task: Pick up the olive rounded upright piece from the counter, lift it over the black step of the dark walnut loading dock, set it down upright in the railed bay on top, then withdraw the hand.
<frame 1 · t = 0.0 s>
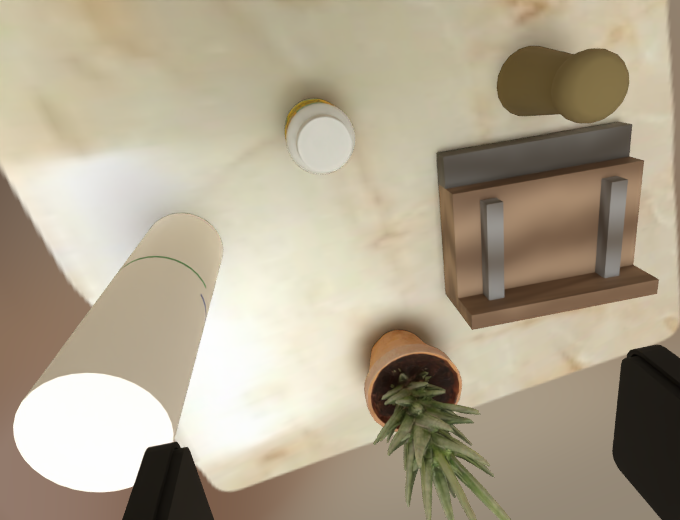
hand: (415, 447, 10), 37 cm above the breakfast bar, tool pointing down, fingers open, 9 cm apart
loading dock: (527, 225, 50), on the breakfast bar
supplement bottle: (314, 128, 44), on the breakfast bar
potted plant: (395, 350, 54), on the breakfast bar
cylindrical container: (184, 248, 46), on the breakfast bar
olive rounded upright piece: (527, 81, 44), on the breakfast bar
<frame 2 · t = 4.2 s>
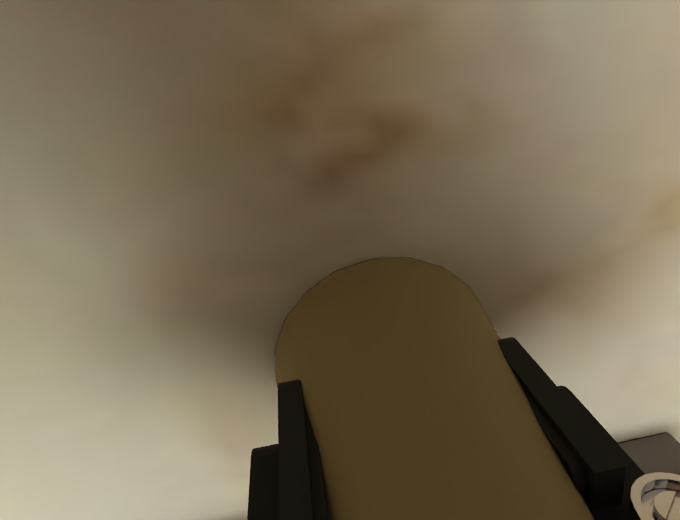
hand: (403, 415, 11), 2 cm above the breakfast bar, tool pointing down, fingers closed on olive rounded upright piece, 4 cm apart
olive rounded upright piece: (383, 354, 14), on the breakfast bar, touching gripper
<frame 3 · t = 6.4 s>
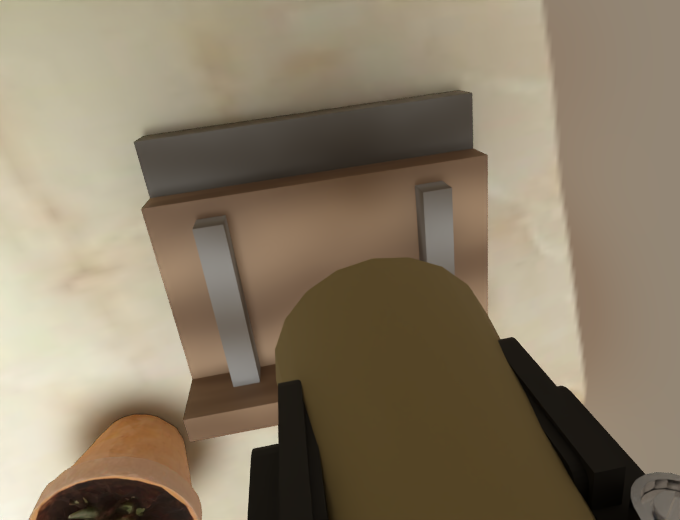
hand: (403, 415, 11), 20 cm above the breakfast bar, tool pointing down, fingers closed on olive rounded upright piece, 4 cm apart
loading dock: (326, 257, 31), on the breakfast bar
potted plant: (142, 443, 35), on the breakfast bar
olive rounded upright piece: (383, 354, 14), point 17 cm above the breakfast bar, touching gripper
when the fingers open (8 cm above the breakfast bar, at t = 9.1 s): olive rounded upright piece drops 1 cm, resting on loading dock.
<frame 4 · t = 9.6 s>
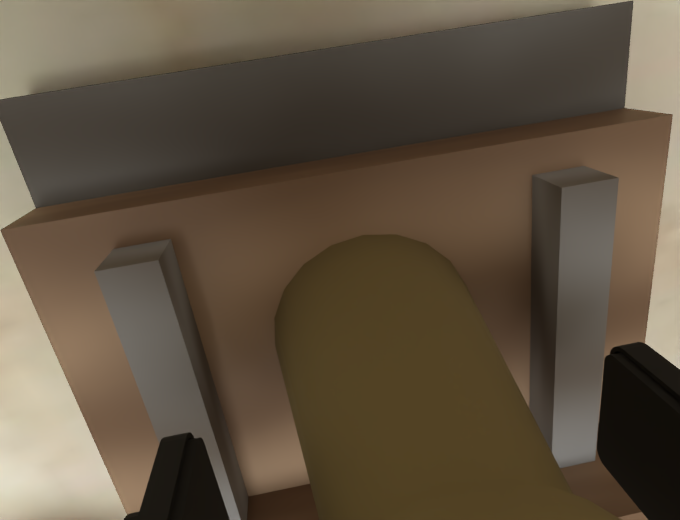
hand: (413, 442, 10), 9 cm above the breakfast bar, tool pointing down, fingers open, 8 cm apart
loading dock: (356, 300, 19), on the breakfast bar
olive rounded upright piece: (373, 324, 15), point 4 cm above the breakfast bar, touching loading dock
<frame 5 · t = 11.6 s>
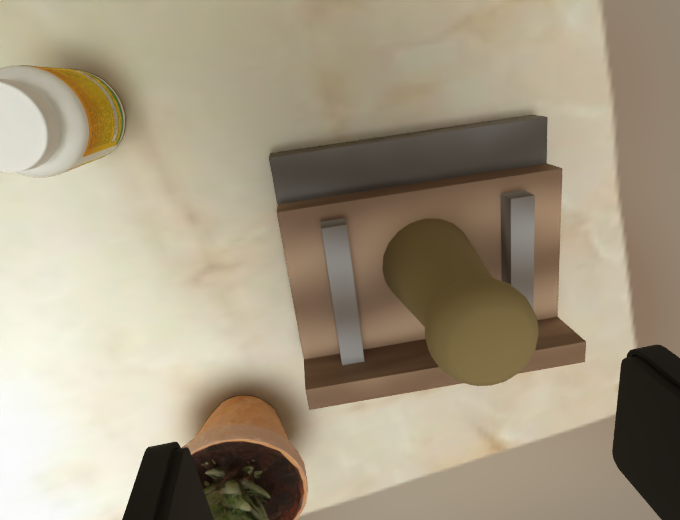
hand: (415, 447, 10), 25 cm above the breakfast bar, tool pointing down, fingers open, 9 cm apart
loading dock: (413, 258, 36), on the breakfast bar
supplement bottle: (84, 114, 30), on the breakfast bar
potted plant: (243, 422, 40), on the breakfast bar
olive rounded upright piece: (427, 261, 32), point 4 cm above the breakfast bar, touching loading dock
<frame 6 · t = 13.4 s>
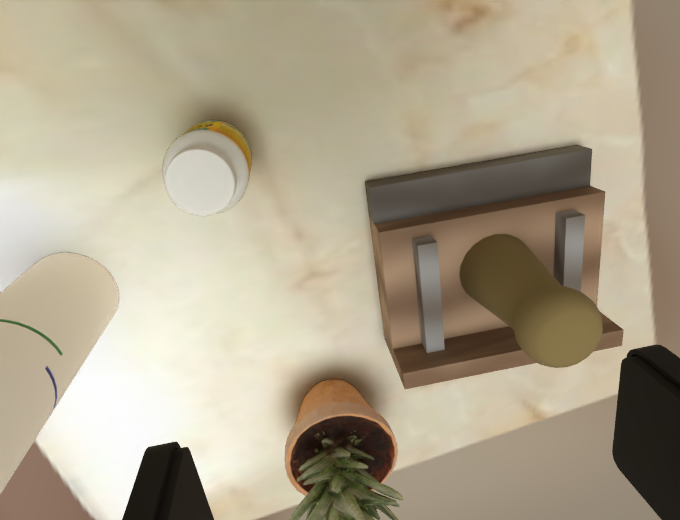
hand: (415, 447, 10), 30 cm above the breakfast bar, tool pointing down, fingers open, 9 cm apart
loading dock: (476, 262, 43), on the breakfast bar
supplement bottle: (217, 154, 37), on the breakfast bar
potted plant: (330, 401, 47), on the breakfast bar
cylindrical container: (73, 292, 40), on the breakfast bar
olive rounded upright piece: (494, 268, 39), point 4 cm above the breakfast bar, touching loading dock
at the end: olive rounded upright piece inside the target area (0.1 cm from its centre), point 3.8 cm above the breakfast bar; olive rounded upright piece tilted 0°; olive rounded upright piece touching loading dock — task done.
